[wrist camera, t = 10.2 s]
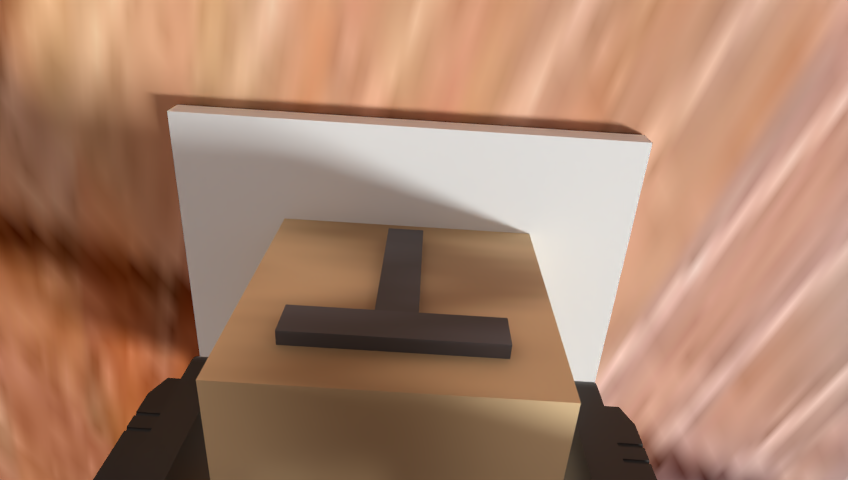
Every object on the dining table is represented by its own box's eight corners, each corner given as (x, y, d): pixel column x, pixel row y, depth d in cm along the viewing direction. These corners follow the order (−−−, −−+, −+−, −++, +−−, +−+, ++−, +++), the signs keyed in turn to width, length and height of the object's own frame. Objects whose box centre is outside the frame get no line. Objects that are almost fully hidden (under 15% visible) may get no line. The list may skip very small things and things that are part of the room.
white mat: (177, 104, 14) (166, 111, 14) (644, 135, 14) (652, 142, 14) (220, 448, 19) (214, 464, 18) (566, 469, 19) (570, 485, 19)
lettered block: (531, 222, 15) (584, 387, 9) (499, 426, 18) (526, 641, 12) (283, 206, 15) (193, 364, 9) (294, 414, 18) (230, 624, 12)
